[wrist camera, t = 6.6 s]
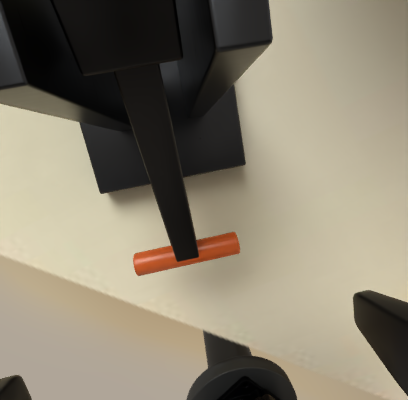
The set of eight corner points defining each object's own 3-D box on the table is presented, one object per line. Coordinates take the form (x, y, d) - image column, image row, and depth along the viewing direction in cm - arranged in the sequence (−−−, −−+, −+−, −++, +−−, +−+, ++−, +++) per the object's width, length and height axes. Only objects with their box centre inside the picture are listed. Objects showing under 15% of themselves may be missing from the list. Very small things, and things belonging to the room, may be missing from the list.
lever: (231, 230, 13) (244, 269, 12) (139, 250, 13) (139, 293, 11) (213, -128, 5) (250, -176, 3) (-31, -97, 5) (-126, -134, 3)
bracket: (241, 163, 16) (389, 206, 5) (105, 190, 16) (-79, 310, 4) (212, -31, 14) (379, -865, 2) (48, -7, 13) (-739, -936, 2)
